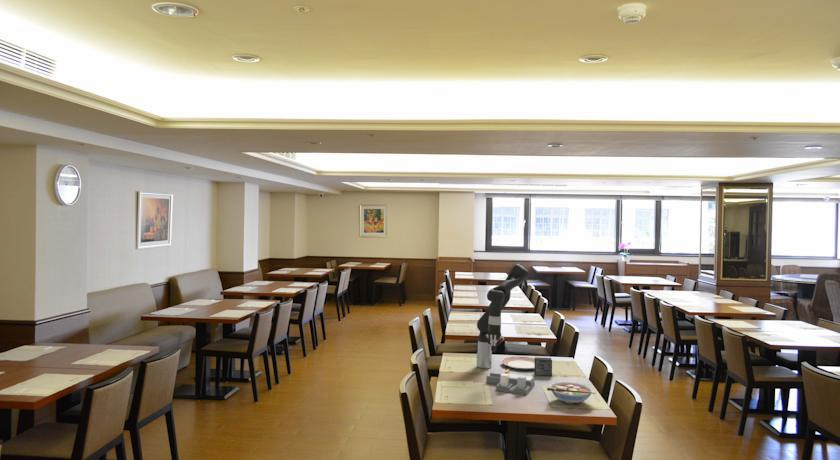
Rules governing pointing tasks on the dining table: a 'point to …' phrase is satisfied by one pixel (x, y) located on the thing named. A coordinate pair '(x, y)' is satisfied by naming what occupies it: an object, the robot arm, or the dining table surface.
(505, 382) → the white jaw block
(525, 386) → the housing
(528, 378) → the lid
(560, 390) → the ramen bowl
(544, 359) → the small box
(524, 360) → the dinner plate
